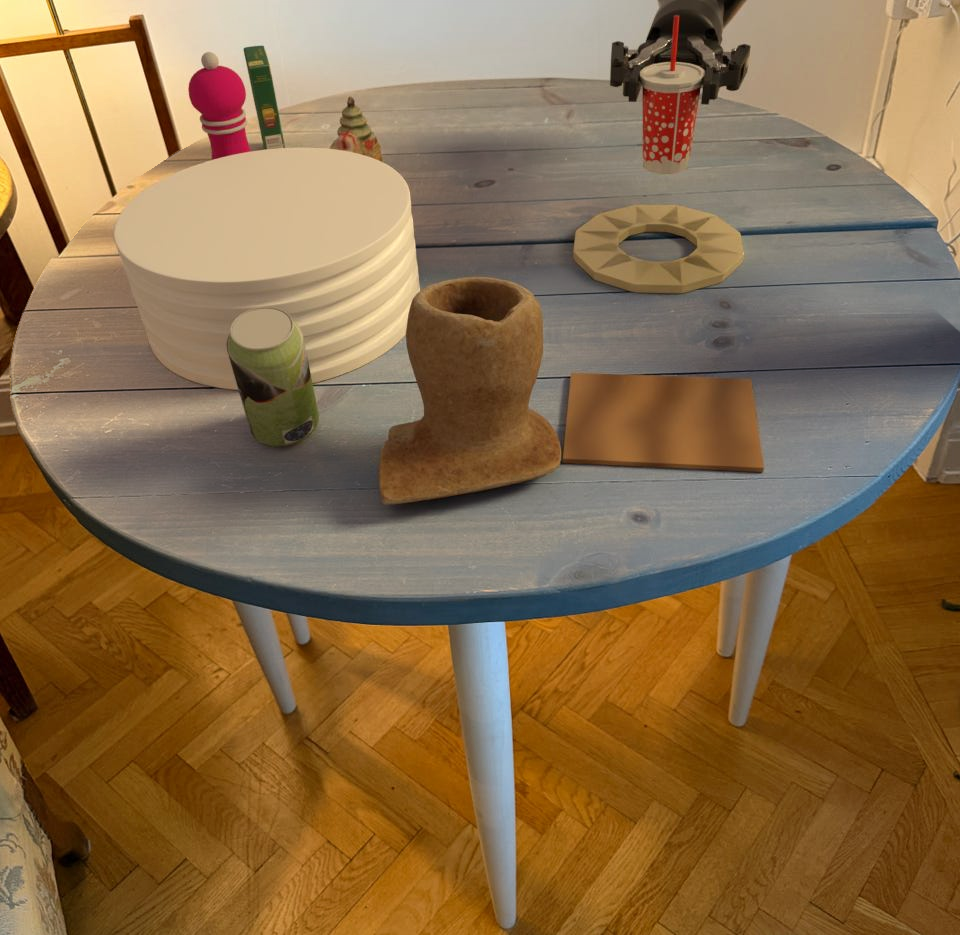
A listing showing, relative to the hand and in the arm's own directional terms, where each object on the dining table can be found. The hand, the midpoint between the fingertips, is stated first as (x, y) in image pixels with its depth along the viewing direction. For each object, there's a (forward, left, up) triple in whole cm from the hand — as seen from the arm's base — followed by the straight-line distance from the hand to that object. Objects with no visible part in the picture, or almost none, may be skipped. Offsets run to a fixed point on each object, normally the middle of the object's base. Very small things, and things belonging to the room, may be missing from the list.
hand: (669, 92), depth 87 cm
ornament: (+38, -22, -19) cm, 48 cm away
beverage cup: (0, -2, -8) cm, 9 cm away
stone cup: (+16, +32, -19) cm, 40 cm away
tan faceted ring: (0, -4, -18) cm, 19 cm away
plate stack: (+38, +10, -19) cm, 43 cm away
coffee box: (+51, -29, -19) cm, 61 cm away
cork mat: (0, +26, -18) cm, 32 cm away
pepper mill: (+48, -8, -19) cm, 52 cm away
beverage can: (+32, +30, -19) cm, 47 cm away
